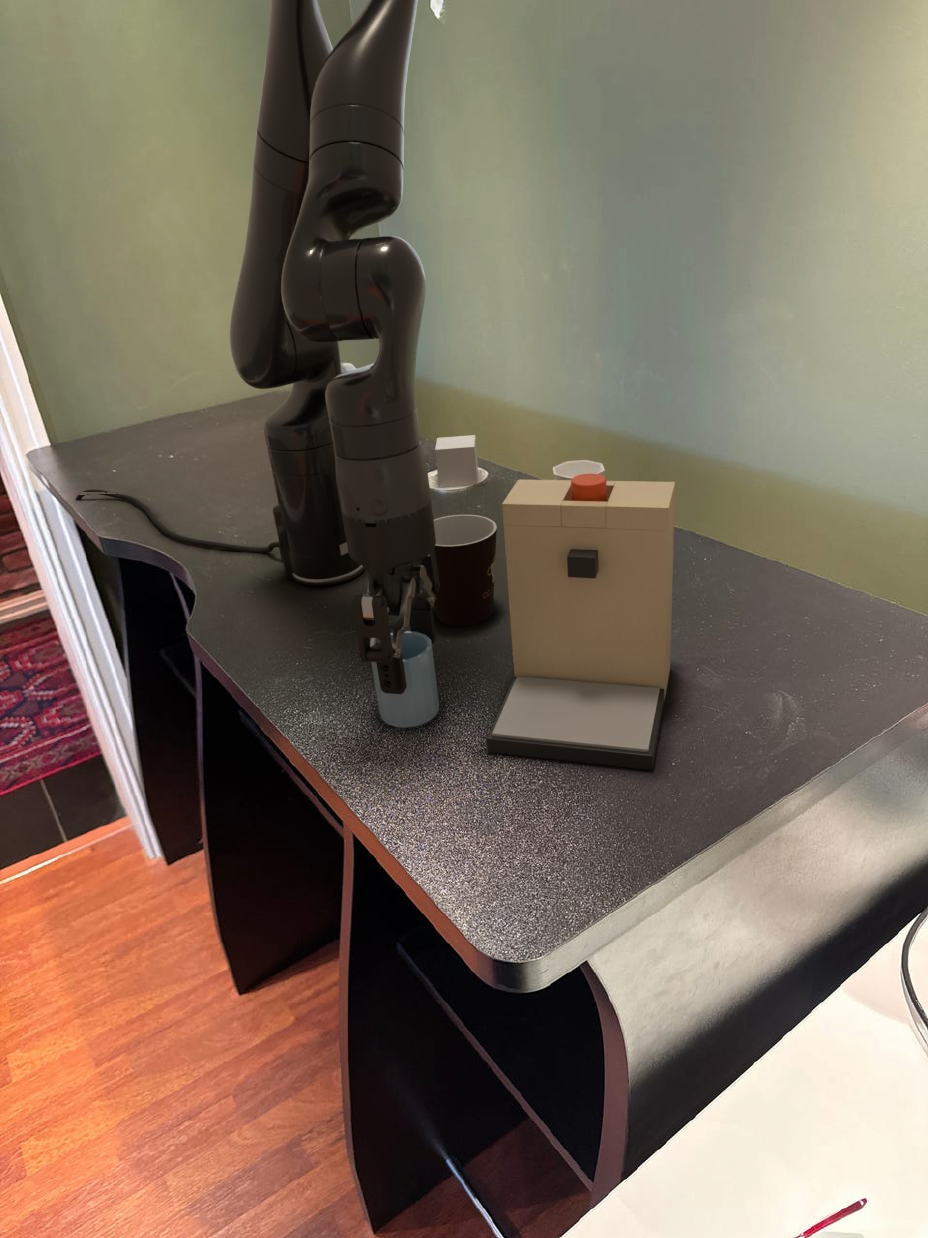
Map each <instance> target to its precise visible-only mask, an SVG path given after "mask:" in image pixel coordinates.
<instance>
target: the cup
mask: <svg viewBox="0 0 928 1238" xmlns="http://www.w3.org/2000/svg"><path fill="white" fill-rule="evenodd" d="M552 472H553V479H554V480H571V479H572V478H573V477H575V476H577V475H581V474H600V475H603V476H605V473H606V469H605V466H604V464H603V463H602V462H598V461H592V460H589V459H580V460H567V461H564V462H561V463H559V464H557V465H555V466H553V467H552Z"/></svg>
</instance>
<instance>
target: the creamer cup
mask: <svg viewBox="0 0 928 1238" xmlns="http://www.w3.org/2000/svg"><path fill="white" fill-rule="evenodd" d="M390 634H391V642H392V637H393V632H390ZM401 654H402V658H403V664H404V671H405V678H406V684H407V688H406V689H405V691H404V693H403V694H390V693H384V692H383V691H382V690H381V688H380V682H379V676H378V670H377V664H376V662H370V663H371V670H372V675H373V681H374V688H375V695H376V700H377V706H378V711H379V716H380V719H381V720H382V721H383V722H384V723H385V724H387V725H389V726H391V727H395V728H403V729H404V728H406V729H407V728H408V729H409V728H415V727H418V726H422V725H425V724H427V723H429V722H431V721H432V720H433V719H434V718H435V717H436V716H437V715H438V713H439V711H440V702H439V693H438V685H437V676H436V667H435V660H434V651H433V644H432V643H431V639H430V638H429V637H427V636H426V635H425V634H422V633H419V632H413V631H411V630H407V631H406V632H404V633H403V638H402V648H401Z"/></svg>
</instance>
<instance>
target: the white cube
mask: <svg viewBox="0 0 928 1238" xmlns="http://www.w3.org/2000/svg"><path fill="white" fill-rule="evenodd" d="M434 448H435V449H434V454H435V462H436V471H437V472H436V473H437V481H438V488H446V487H460V486H461V487H462V486H472V485H473V486H475V485H478V484H479V463H478V462H479V461H478V450H477V439H476V435H475V434H473V435H456V436H444V437H437V438H436V442H435V447H434Z"/></svg>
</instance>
